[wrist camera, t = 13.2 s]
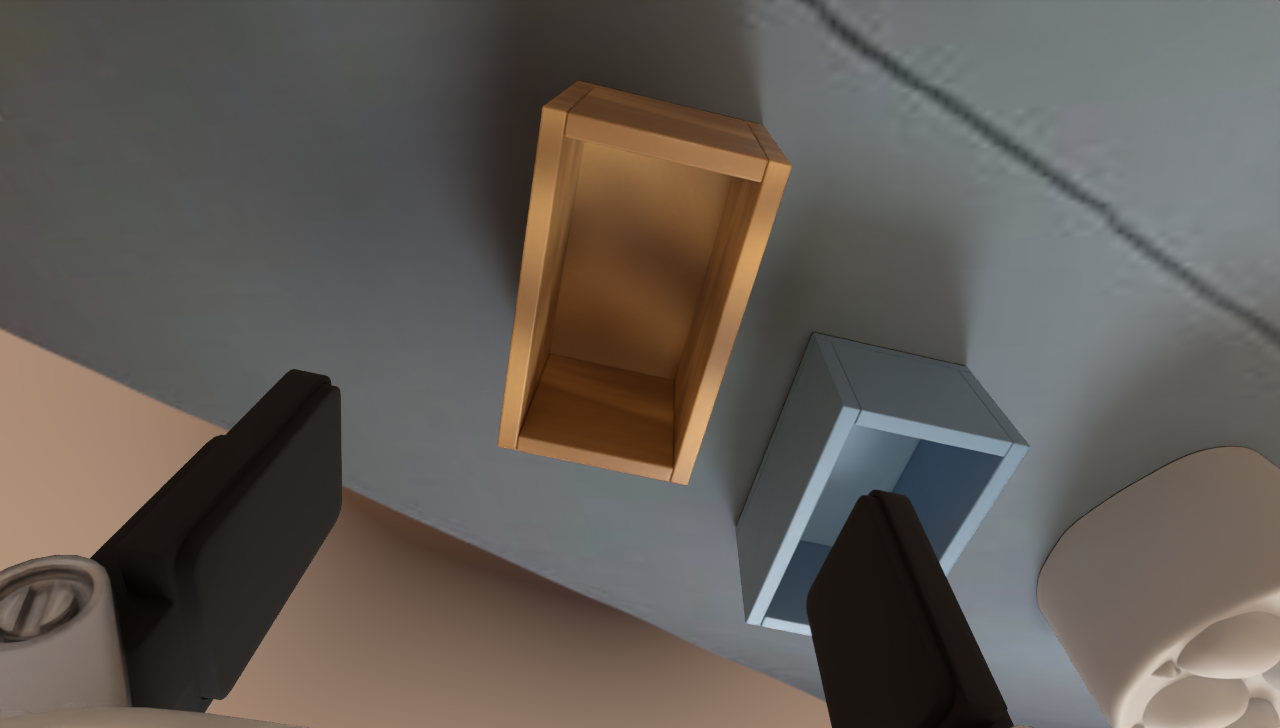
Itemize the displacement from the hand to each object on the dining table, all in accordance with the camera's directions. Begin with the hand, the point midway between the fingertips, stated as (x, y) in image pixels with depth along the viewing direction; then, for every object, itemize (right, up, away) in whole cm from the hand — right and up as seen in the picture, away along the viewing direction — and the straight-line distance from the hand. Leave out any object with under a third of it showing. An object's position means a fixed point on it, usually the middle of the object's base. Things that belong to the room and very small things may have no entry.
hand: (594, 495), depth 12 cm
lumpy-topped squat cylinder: (+28, -7, +22) cm, 36 cm away
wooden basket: (+1, +7, +15) cm, 17 cm away
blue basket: (+11, -2, +20) cm, 23 cm away
